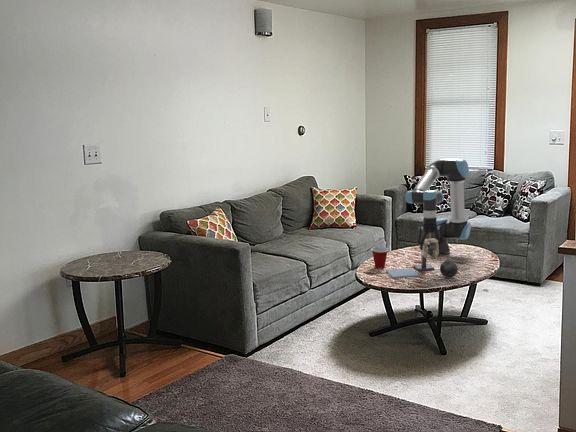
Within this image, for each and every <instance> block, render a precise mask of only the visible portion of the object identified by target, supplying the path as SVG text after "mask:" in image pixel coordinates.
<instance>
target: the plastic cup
mask: <svg viewBox="0 0 576 432" xmlns="http://www.w3.org/2000/svg"><path fill="white" fill-rule="evenodd" d="M371 251H372V252H371V253H372V257H373V262H374V267H375V268H376V269H384V268H385V266H386V261H387V255H388V253H389V252H388V251H389V248H387V247H384V246H374V247H371Z"/></svg>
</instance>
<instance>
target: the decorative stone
mask: <svg viewBox="0 0 576 432" xmlns="http://www.w3.org/2000/svg"><path fill="white" fill-rule="evenodd" d="M439 267H440V268H439V271H440V273H441V275H442V276H443V277H445V278H454V277H455V276H456V275H457V273H458V265H457V263H456V262H455V261H453V260H445V261H443V262H442V263H441V264H440V266H439Z"/></svg>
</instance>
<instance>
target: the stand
mask: <svg viewBox="0 0 576 432" xmlns="http://www.w3.org/2000/svg"><path fill="white" fill-rule="evenodd" d="M427 248H430V249H431V250H434V249H435V247H434V246H433V245H431V244H430V243H427ZM420 251H421V253H420V255H421V256H420V259H421V261H420V262H421V264H413V268H414V269H415V270H416V271H417V272H426V271H435V267H434V266H433V265H432V264H430V263H427V258H424V257H423V256H422V250H420Z"/></svg>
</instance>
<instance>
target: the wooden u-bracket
mask: <svg viewBox="0 0 576 432" xmlns="http://www.w3.org/2000/svg"><path fill="white" fill-rule="evenodd" d="M427 243H433V246H434V247H435V249H434V250H433V255H432V256H433V257H435V258H439V255H438V240H437V239H435V238H430V237H429V238H425V240H424V243H423V244H424V256H423V255H422V256H423V257H424V258H426V259H428V253H427V248H428V247H427Z"/></svg>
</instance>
